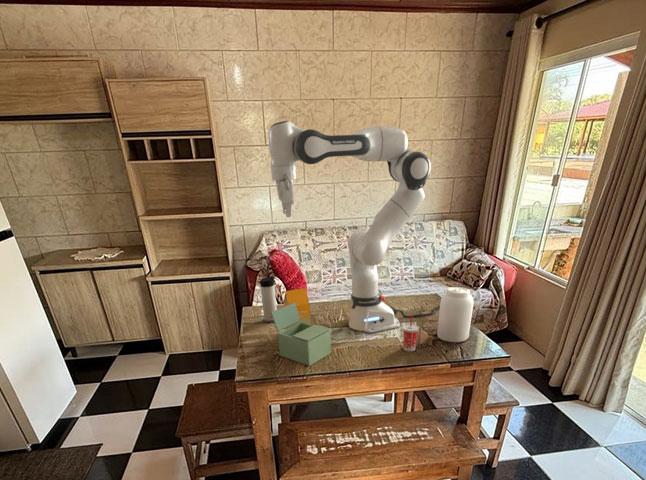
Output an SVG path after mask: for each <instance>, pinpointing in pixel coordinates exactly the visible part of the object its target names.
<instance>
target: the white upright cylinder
mask: <svg viewBox="0 0 646 480" xmlns="http://www.w3.org/2000/svg"><path fill="white" fill-rule="evenodd" d="M474 303H475V302H474V297H473V296H472V295H471V291H470V289H468V288H467V287H463V286H452V287H449V288H447V290H446V292H445V293H444V294H443V295H442V296H441V298H440V301H439V306H440V308H439V312H438V319H437V320H438V321H437V330H436V335H437V336H436V337H438V338H439V339H440V340H442V341H444V342H448V343H461V342H465V341H467V340H468V339H469V337H470V329H471V323H472V318H473V316H472V315H473V310H474Z"/></svg>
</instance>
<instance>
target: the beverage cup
mask: <svg viewBox="0 0 646 480" xmlns="http://www.w3.org/2000/svg"><path fill="white" fill-rule="evenodd" d="M412 315H413V314H410V316H411V317H410V322H409V324H408V323H407V324H404V325H403V326H402V333H403V334H402V335H403V337H402V338H403V340H402V341H403V342H402V346H403V347H402V348H403V350H404V351H405V352H414V351H415V350H416V348H417V341H418V333H419V331H420V327H419V326H418V325H417V324H413V317H412Z"/></svg>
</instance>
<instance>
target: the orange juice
mask: <svg viewBox="0 0 646 480" xmlns="http://www.w3.org/2000/svg"><path fill="white" fill-rule="evenodd" d="M307 293H308V292H307V289H306V287H302V288H298V289H297V288H296V289H290V290H285V292H284V296H283V307H285V306H288V305H290V304H292V303H295V304H296V307H297V310H298V313H299V316H300V319H301V321H299V322H296V323H294V324H292V325H290V326H288V327H286V328H285V329H287V328H289V327H292V326H294V325H296V324H298V323H300V322H302V323H306V324H309V325H312V324H311V320H312V319H311V306H310V304H311V303H310V301H309V297H308V294H307Z"/></svg>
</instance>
